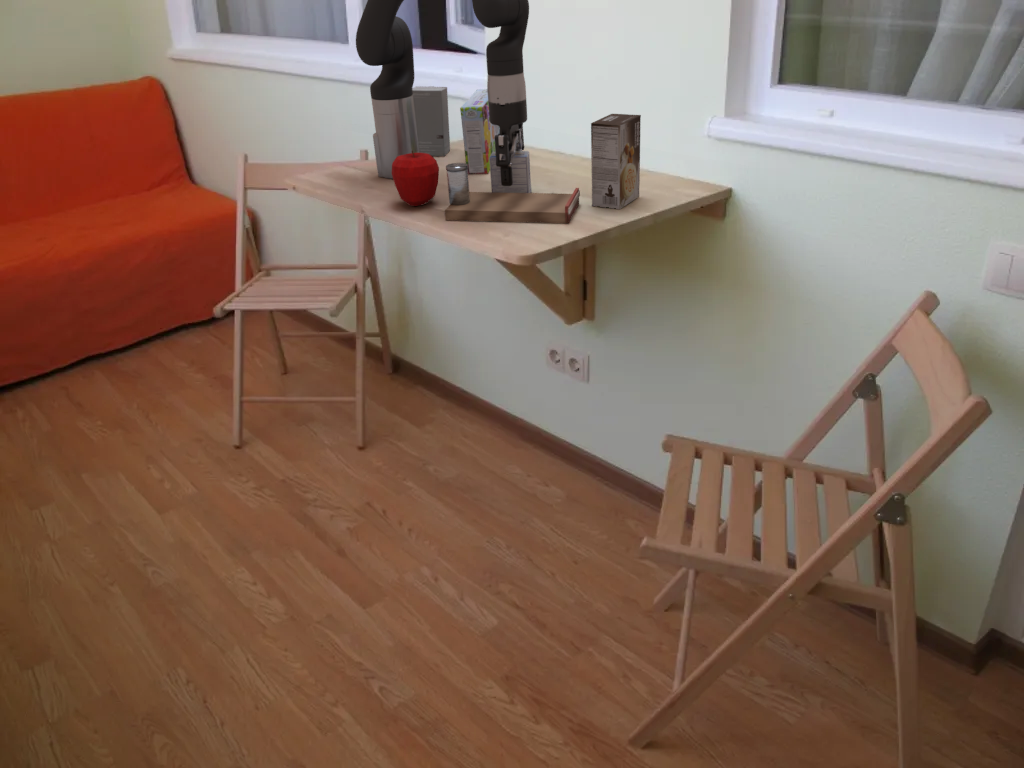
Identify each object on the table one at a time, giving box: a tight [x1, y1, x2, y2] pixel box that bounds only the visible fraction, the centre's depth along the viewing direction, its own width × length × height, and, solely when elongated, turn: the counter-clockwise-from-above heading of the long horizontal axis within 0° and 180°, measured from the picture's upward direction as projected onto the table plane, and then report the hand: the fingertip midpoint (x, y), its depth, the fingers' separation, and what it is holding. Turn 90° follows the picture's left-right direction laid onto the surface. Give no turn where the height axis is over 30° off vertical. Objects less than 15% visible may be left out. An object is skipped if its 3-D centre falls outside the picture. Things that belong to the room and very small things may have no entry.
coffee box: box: [590, 113, 642, 210], centre depth 158 cm, size 9×6×16 cm
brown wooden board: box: [444, 187, 581, 224], centre depth 159 cm, size 24×12×3 cm, turn 76°
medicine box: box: [489, 150, 532, 193], centre depth 168 cm, size 8×4×9 cm, turn 84°
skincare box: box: [412, 85, 451, 157], centre depth 201 cm, size 8×7×16 cm
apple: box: [392, 150, 440, 207], centre depth 165 cm, size 10×10×11 cm
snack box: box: [459, 88, 500, 175], centre depth 191 cm, size 21×6×15 cm, turn 172°
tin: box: [445, 162, 470, 205], centre depth 159 cm, size 4×4×7 cm
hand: (512, 179), depth 168 cm, fingers open, 8 cm apart
